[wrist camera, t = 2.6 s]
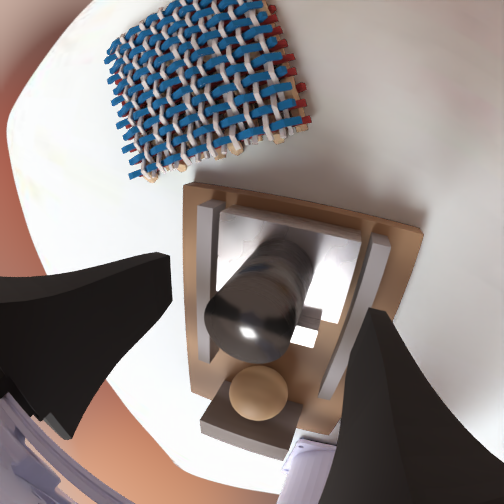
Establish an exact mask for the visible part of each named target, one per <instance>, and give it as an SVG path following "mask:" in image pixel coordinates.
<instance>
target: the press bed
mask: <svg viewBox="0 0 504 504" xmlns="http://www.w3.org/2000/svg"><path fill="white" fill-rule="evenodd" d="M233 204H235V205H241V206H246V207H252V208H257V209H262V210H267V211H272V212H277V213H282V214H287V215H292V216H296V217H301V218H306V219H311V220H315V221H320V222H324V223H329V224H333V225H338V226H342V227H346V228H351V229H355V230H359V231H361V246H360V250H359V254H358V258H357V262H356V265H355V269H354V272H353V276H352V279H351V283H350V286H349V289H348V293H347V296H346V299H345V302H344V305H343V309H342V312H341V315H340V318H339V321H338V324H337V323H333V322H329V321H325V320H321V321H320V325H319V329H318V333H317V336H316V339H315V342H314V345H313V348H312V347H308V346H304V345H300V344H296V343H293V342H290V344H289V347H288V349H287V351H286V352H285V353H284V355H282V356H281V357H280V358H279V359H277V360H275V361H272V362H269V363H264V364H254V363H247V362H244V361H241V360H238V359H236V358H234V357H232V356H230V355H228V354H227V353H225V352H224V351H223V350H221V349H220V348H219V347H218V346H217V345H216V344H215V343H214V341H213V340H212V339H211V337H210V335H209V334H208V332H207V329H206V326H205V322H204V312H205V308H206V306H207V304H208V302H209V301H210V300H211V299H212V297H213V296H214V295H215V294H216V293H217V292H218V291H216V286H217V260H218V239H219V220H220V212H221V211H223V210H224V209H226V208H228V207H230V206H231V205H233ZM423 236H424V234H423V233H422V231H421V230H420V228H417V227H414V226H410V225H406V224H403V223H399V222H395V221H391V220H387V219H383V218H379V217H375V216H371V215H367V214H363V213H359V212H354V211H350V210H346V209H341V208H337V207H332V206H327V205H323V204H318V203H313V202H308V201H303V200H298V199H293V198H288V197H283V196H278V195H272V194H267V193H261V192H255V191H249V190H243V189H237V188H231V187H225V186H218V185H211V184H204V183H197V182H192V183H188V184H185V185H183V280H184V305H185V323H186V338H187V352H188V364H189V375H190V385H191V392H193V393H195V394H198V395H200V396H203V397H205V398H207V399H210V400H212V401H211V403H210V405H209V406H208V408H207V409H206V411H205V413H204V414H203V416H202V417H201V419H200V426H201V433H203V434H205V435H208V436H210V437H213V438H215V439H218V440H220V441H223V442H226V443H228V444H231V445H234V446H236V447H239V448H242V449H245V450H248V451H251V452H254V453H257V454H261V455H264V456H267V457H271V458H274V459H278V460H281V461H283V460H284V458H285V456H286V454H287V452H288V451H289V448H290V445H291V442H292V439H293V436H294V433H295V430H296V428H299V429H303V430H307V431H311V432H316V433H320V434H325V435H329V434H330V433H331V431H332V430H333V429H334V427H335V426H336V424H337V422H338V421H339V419H340V418H341V415H342V406H343V396H344V385H345V377H346V371H347V366H348V361H349V356H350V352H351V350H352V347H353V345H354V343H355V340H356V338H357V335H358V333H359V330H360V328H361V325H362V323H363V320H364V318H365V315H366V312H367V310H368V307H370V308H374V309H378V310H383V311H386V312H387V314H388V316H389V317H390V319H391V321H393V319H394V316H395V314H396V312H397V309H398V307H399V304H400V302H401V299H402V297H403V294H404V292H405V289H406V287H407V284H408V281H409V279H410V276H411V273H412V270H413V267H414V264H415V261H416V258H417V255H418V252H419V249H420V246H421V243H422V239H423ZM258 365H260V366H267V367H270V368H272V369H274V370H276V371H277V372H278V373H279V374H280V375H281V376H282V377H283V378H284V380H285V382H286V384H287V388H288V398H287V402H286V404H285V406H284V408H283V409H282V410H281V411H280V412H279V413H278V414H277V415H276V416H274V417H272V418H270V419H267V420H262V421H255V420H250V419H247V418H245V417H243V416H241V415H240V414H239V413H238V412H237V411H236V410H235V409H234V408H233V406H232V404H231V401H230V398H229V389H230V385H231V383H232V380H233V379H234V377H235V376H236V375H237V374H238V373H239V372H240V371H242V370H243V369H245V368H248V367H251V366H258Z"/></svg>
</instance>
